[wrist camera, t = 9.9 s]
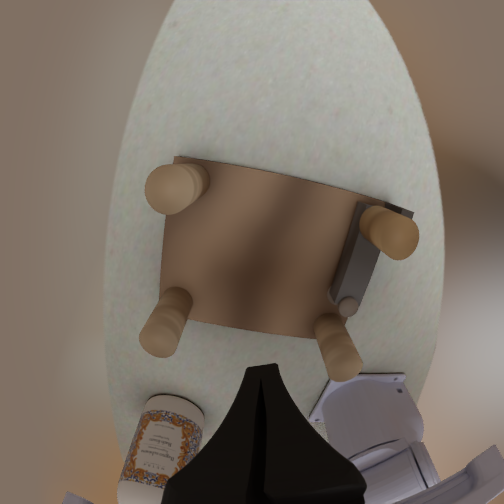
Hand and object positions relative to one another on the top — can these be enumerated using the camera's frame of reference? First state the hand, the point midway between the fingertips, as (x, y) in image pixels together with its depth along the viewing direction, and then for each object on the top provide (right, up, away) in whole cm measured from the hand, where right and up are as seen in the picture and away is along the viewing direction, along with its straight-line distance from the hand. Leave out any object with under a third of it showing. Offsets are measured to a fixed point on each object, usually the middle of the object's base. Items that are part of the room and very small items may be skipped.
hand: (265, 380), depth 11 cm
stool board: (+1, +5, +9) cm, 10 cm away
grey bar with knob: (+7, +6, +7) cm, 11 cm away
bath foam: (-9, -12, +15) cm, 21 cm away
